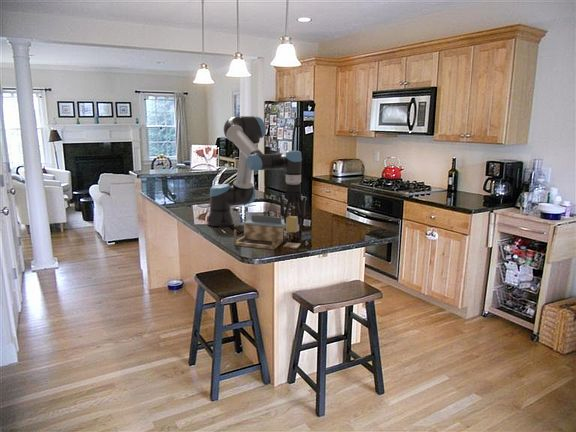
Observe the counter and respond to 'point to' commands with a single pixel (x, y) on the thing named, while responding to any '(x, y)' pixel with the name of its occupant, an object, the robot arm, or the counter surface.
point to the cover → (266, 221)
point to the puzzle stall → (261, 236)
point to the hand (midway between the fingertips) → (292, 230)
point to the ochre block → (291, 224)
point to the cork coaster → (292, 245)
